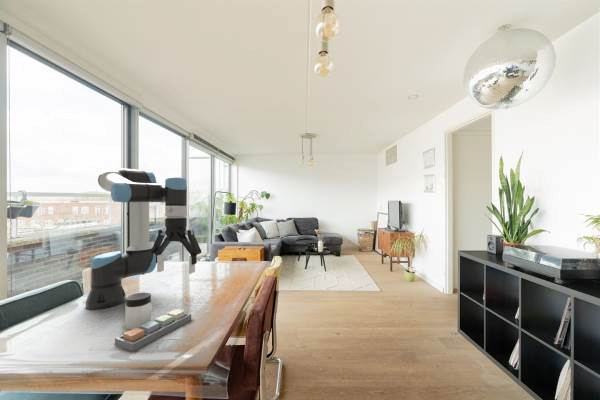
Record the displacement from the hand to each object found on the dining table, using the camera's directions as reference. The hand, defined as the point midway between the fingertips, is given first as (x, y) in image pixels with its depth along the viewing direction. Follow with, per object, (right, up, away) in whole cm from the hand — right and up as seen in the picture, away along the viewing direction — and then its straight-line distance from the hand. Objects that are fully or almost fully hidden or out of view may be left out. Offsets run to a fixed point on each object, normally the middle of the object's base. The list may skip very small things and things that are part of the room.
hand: (176, 272), depth 98 cm
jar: (-14, -21, -2) cm, 25 cm away
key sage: (-2, -18, -5) cm, 18 cm away
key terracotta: (-7, -17, -15) cm, 24 cm away
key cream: (0, -18, 0) cm, 18 cm away
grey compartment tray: (-3, -21, -7) cm, 22 cm away
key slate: (-5, -17, -10) cm, 20 cm away
